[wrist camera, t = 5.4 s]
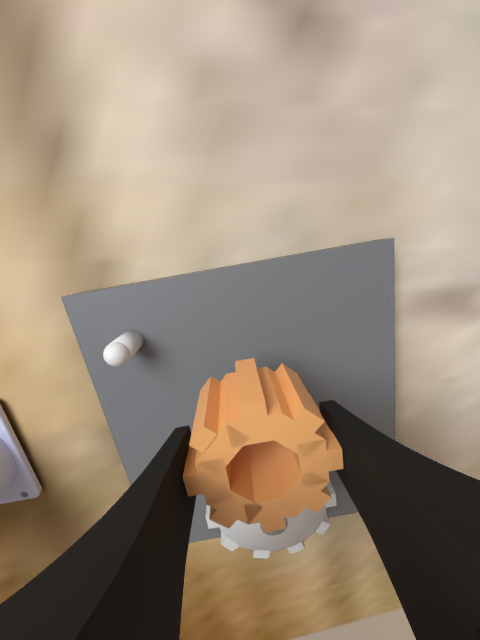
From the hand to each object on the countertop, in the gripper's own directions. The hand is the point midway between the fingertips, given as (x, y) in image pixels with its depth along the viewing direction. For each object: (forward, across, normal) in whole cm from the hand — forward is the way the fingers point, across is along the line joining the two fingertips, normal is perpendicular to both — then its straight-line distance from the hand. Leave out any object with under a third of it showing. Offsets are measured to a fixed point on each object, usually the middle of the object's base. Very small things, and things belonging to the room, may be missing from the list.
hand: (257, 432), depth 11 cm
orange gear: (+1, 0, 0) cm, 1 cm away
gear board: (+6, 0, +2) cm, 6 cm away
